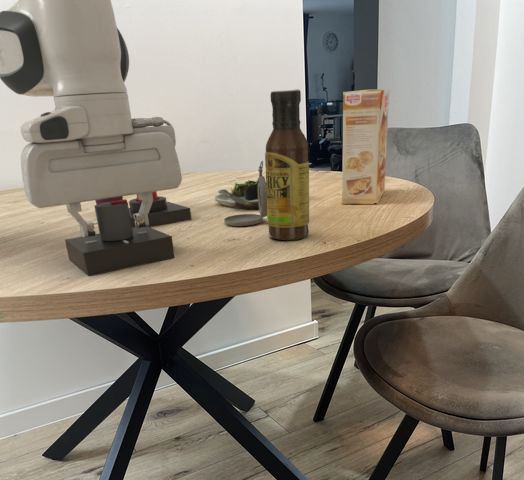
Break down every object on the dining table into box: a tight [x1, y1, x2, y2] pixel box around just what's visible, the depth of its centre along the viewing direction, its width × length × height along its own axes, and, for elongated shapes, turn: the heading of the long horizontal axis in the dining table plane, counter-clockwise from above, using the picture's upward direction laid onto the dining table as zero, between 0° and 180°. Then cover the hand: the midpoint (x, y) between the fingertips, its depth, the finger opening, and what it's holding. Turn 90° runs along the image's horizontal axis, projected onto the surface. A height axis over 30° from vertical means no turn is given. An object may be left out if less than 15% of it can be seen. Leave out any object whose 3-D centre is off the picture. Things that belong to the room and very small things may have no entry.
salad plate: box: [214, 179, 259, 211], centre depth 106 cm, size 19×18×5 cm
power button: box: [136, 191, 158, 202], centre depth 93 cm, size 4×4×2 cm
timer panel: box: [64, 227, 175, 277], centre depth 71 cm, size 12×10×3 cm
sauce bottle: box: [264, 88, 310, 241], centre depth 73 cm, size 6×6×20 cm
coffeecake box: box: [341, 88, 390, 205], centre depth 99 cm, size 15×7×20 cm, turn 162°
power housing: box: [128, 195, 192, 228], centre depth 94 cm, size 12×10×4 cm
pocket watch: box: [223, 160, 267, 227], centre depth 86 cm, size 8×8×10 cm
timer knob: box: [93, 198, 133, 241], centre depth 69 cm, size 4×4×5 cm
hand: (116, 231), depth 70 cm, fingers open, 6 cm apart
